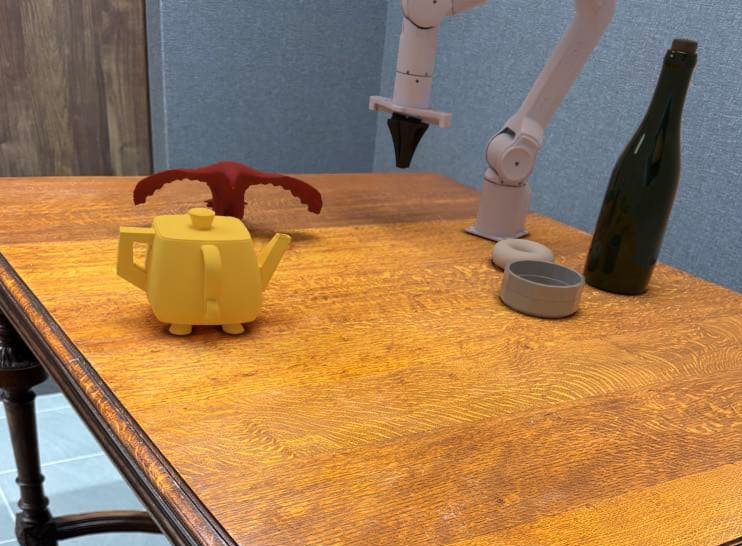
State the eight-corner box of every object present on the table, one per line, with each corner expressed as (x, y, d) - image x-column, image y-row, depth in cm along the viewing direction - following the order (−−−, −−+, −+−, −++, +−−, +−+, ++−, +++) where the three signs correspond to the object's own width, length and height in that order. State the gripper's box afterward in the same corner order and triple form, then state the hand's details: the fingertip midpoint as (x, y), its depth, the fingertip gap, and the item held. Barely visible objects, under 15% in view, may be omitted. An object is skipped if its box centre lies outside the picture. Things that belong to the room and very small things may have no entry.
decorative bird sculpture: (136, 250, 127) (132, 195, 112) (133, 196, 128) (129, 135, 114) (313, 257, 134) (331, 206, 120) (309, 205, 135) (325, 149, 121)
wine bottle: (568, 278, 126) (632, 31, 107) (602, 267, 133) (669, 33, 113) (626, 300, 121) (705, 45, 101) (659, 288, 128) (739, 46, 108)
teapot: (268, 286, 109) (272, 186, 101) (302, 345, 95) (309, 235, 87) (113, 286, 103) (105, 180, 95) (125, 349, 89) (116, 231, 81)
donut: (552, 283, 124) (551, 262, 132) (557, 261, 122) (556, 241, 130) (487, 272, 125) (490, 252, 133) (492, 250, 123) (495, 231, 130)
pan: (521, 283, 122) (527, 253, 119) (589, 306, 117) (597, 276, 115) (484, 301, 114) (491, 269, 111) (556, 326, 110) (564, 293, 107)
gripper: (361, 65, 125) (353, 159, 133) (440, 83, 119) (426, 180, 127) (387, 64, 130) (377, 155, 138) (464, 81, 124) (449, 175, 132)
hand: (402, 167), depth 133 cm, fingers closed
